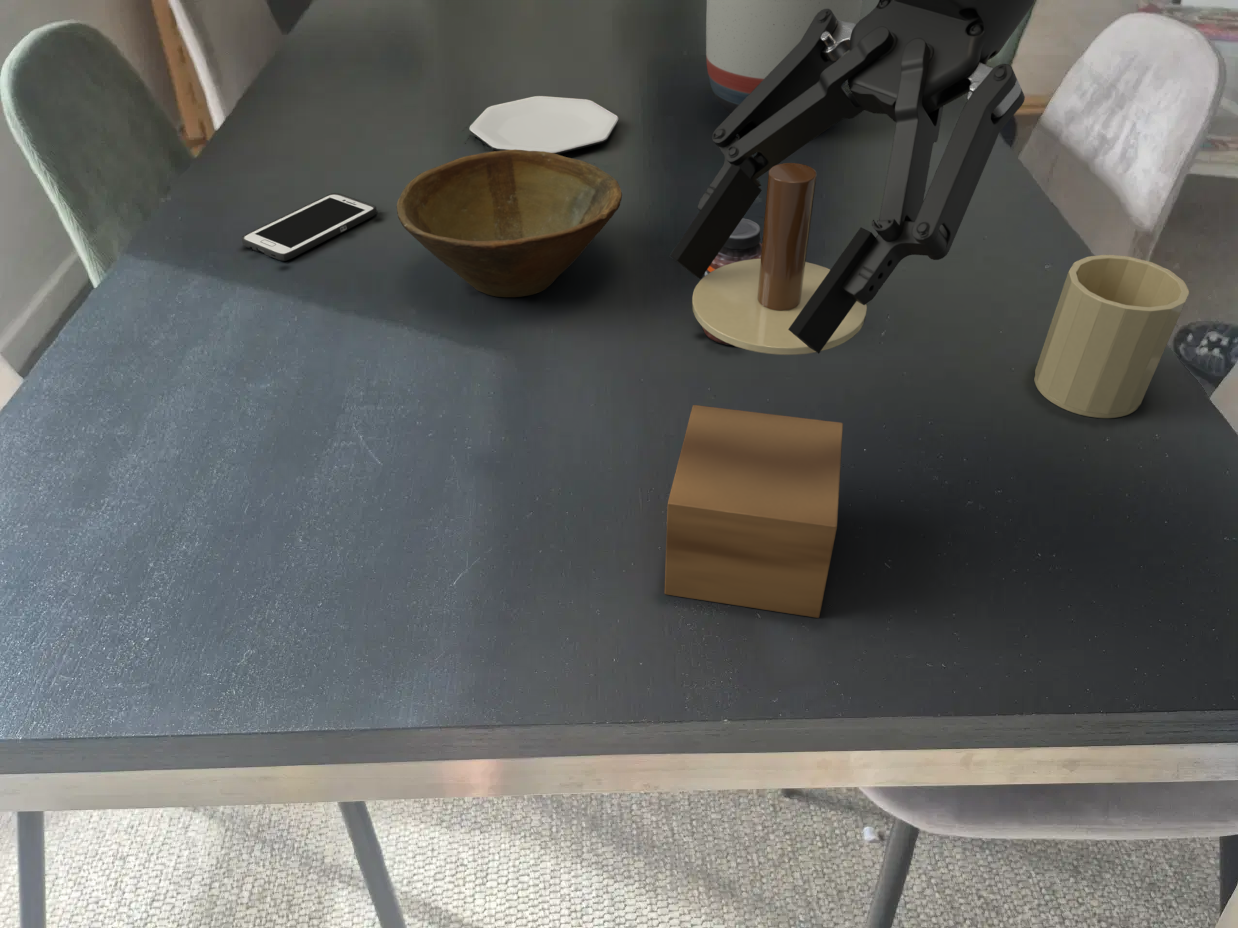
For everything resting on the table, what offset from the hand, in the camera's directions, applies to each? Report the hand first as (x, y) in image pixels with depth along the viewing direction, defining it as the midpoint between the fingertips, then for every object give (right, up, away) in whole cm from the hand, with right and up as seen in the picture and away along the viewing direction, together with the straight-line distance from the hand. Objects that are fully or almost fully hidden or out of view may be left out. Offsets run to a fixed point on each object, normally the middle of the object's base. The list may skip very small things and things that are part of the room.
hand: (741, 302), depth 55 cm
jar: (+36, -2, +32) cm, 48 cm away
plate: (-18, +37, +79) cm, 89 cm away
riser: (+3, -16, +16) cm, 23 cm away
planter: (+15, +40, +81) cm, 91 cm away
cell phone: (-43, +18, +57) cm, 73 cm away
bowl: (-18, +11, +48) cm, 52 cm away
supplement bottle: (+4, +4, +39) cm, 40 cm away
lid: (+3, 0, +2) cm, 3 cm away
